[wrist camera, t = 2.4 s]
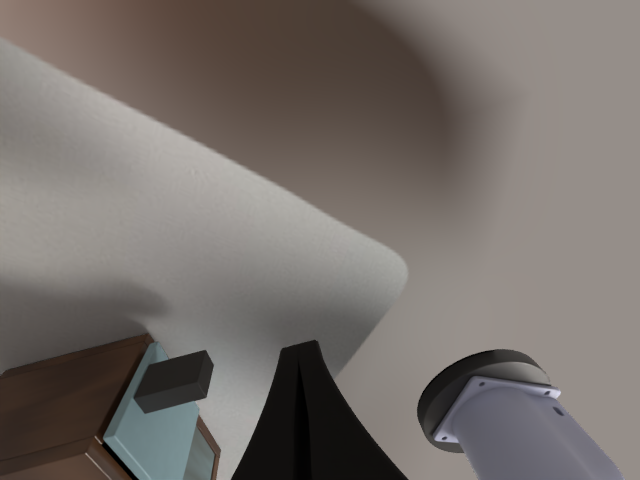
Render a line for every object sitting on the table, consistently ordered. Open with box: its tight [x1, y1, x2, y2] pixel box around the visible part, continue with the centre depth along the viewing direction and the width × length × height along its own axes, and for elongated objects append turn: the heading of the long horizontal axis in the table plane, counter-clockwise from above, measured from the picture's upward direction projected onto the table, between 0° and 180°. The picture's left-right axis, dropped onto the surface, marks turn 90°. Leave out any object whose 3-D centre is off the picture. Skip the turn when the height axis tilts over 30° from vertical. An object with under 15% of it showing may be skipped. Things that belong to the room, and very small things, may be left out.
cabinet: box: [0, 333, 221, 480], centre depth 21 cm, size 10×14×8 cm
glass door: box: [103, 342, 214, 480], centre depth 20 cm, size 4×7×6 cm, turn 13°
